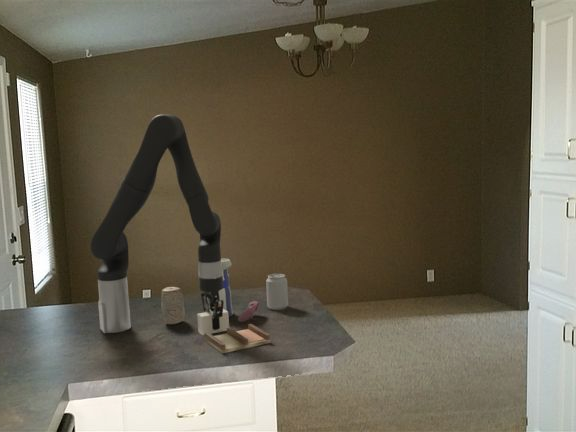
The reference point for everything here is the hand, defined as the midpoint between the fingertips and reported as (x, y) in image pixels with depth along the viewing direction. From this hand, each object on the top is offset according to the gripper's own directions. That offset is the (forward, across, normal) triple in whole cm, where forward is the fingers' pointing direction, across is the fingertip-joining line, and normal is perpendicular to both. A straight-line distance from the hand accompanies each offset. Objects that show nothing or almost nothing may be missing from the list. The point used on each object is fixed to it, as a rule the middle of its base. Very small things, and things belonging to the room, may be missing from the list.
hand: (213, 327), depth 188 cm
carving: (+2, -16, -8) cm, 18 cm away
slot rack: (+1, +14, +2) cm, 14 cm away
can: (+2, -11, +29) cm, 31 cm away
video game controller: (+2, -5, +15) cm, 16 cm away
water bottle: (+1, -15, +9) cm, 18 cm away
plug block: (+1, 0, 0) cm, 1 cm away
